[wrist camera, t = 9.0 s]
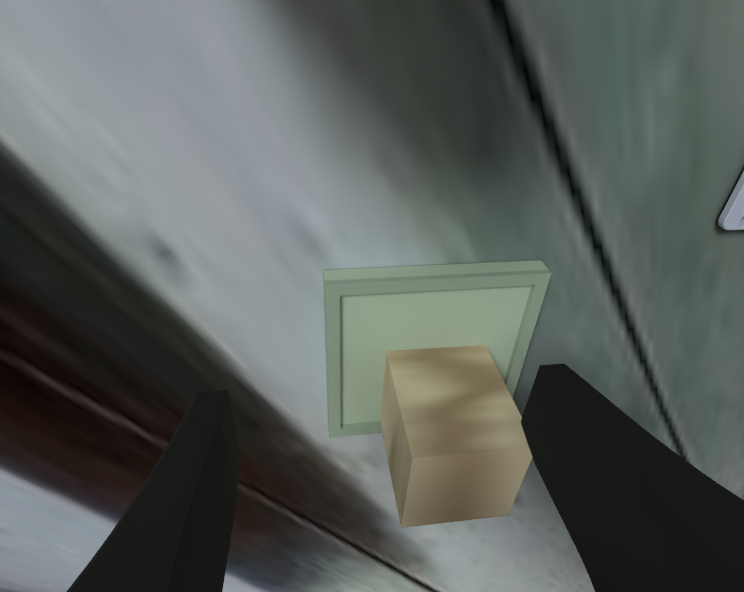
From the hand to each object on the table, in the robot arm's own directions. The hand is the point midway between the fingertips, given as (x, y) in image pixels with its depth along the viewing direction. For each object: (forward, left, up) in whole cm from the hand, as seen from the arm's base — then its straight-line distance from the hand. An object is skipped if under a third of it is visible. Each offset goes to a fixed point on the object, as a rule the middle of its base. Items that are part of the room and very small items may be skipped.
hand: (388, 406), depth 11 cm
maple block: (-4, +9, -9) cm, 14 cm away
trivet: (-4, +8, -10) cm, 13 cm away
